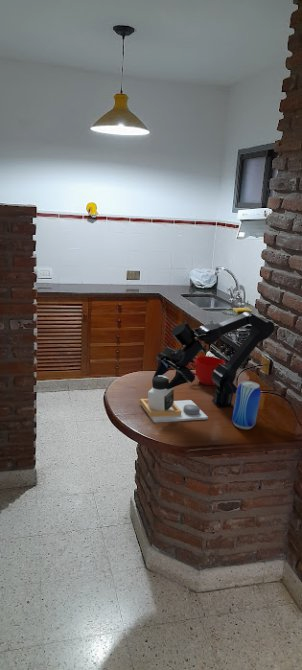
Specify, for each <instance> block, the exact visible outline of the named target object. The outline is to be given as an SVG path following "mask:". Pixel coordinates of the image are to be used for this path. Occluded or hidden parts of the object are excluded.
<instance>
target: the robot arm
mask: <svg viewBox="0 0 302 670" xmlns="http://www.w3.org/2000/svg"><path fill="white" fill-rule="evenodd" d="M248 325H251V326H250V329H249V334H248V336H247V337H246V338H245V339H244V340H243V342H241V345H240V346H239V347H238V348H237V349H236V351H235V352H234V353H233V355H232V356H231V357H230V358H229V360H228V361H227V362H225V364H224V365H221V364H219V365H218V366H217V368H216V369H215V370H214V371H213V372H214V373H213V374H212V380H213V382H214V386H216V388H215V391H214V393H213V399H211V401H212V402H213V403H214V404H215V405H216V406H217V408H218V407H219V408H225V407H226V408H229V407H230V408H231V407H234V404H233V403H232V402H233V395H234V394H237V388H238V386H236V385H235V383H234V382H235V380H236V376H237V371H238V370H239V369H240V367H241V366H242V365H243V364H244V363H245V361H246V360H247V359H248V358H249V356H250V355H251V354H252V352H253V351H254V350H255V349H256V347H257V346H258V345H259V344H260V343H261V342H263V341H265V340H267V339H268V338H270V337H271V336H272V334H273V333H274V332H275V323H274V322H273V321H271V320H269V319H266V318H264V317H262V316H259V317H258V316H256V315H255V314H254V313H251V312H250V311H244V312H242V313H241V314H238V315H235V316H233V317H231V318H228V319H226V320H224V321H221V322H218V323H207V324H204V325H201V326H199V327H197V328H192V327H191V326H190V324H188V322H186V321H184V322H183V323H181V324H178V325H176V326H174V328H173V329H172V330H171V335H172V336H173V337H174V339H176V341H177V342H178V343H179V344H180V345H181V346H183V347H181V348H177V349H174V348H171V347H169V346H165V347H164V349H163V352H159V353H158V354H157V355H156V360H157V368H156V370H155V372H154V375H153V377H152V379H153V378H154V377H155V376H160V375H162V376H164V375H166V373H167V372H169V371H170V369H171V368H173V369H174V370H175V375H174V376H173V378H172V379H171V380H169V384H168V385H167V387H166V389H167V390H168V389H171V388H173V389H174V388H176V387H177V386H181V385H184V384H186V383H187V384H188V383H190V384H192V383H193V382H194V381H195V380H196V375H194V374H193V373H194V372H193V371H192V370H191V368H189V367H188V368H187V365H188V364H189V363H191V364H190V365H192V363H195V362H194V359H196V358H197V357H198V356H197V355H198V354H200V352H203V353H204V354H206V353H207V345H208V346H209V345H210V346H211V345H213V344H214V343H216V342H218V341H220V339H221V338H222V337H223V336H224V335H226V334H229V333H232V332H233V331H236V330H238V329H241V328H243V327H246V326H248ZM192 372H193V373H192Z"/></svg>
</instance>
